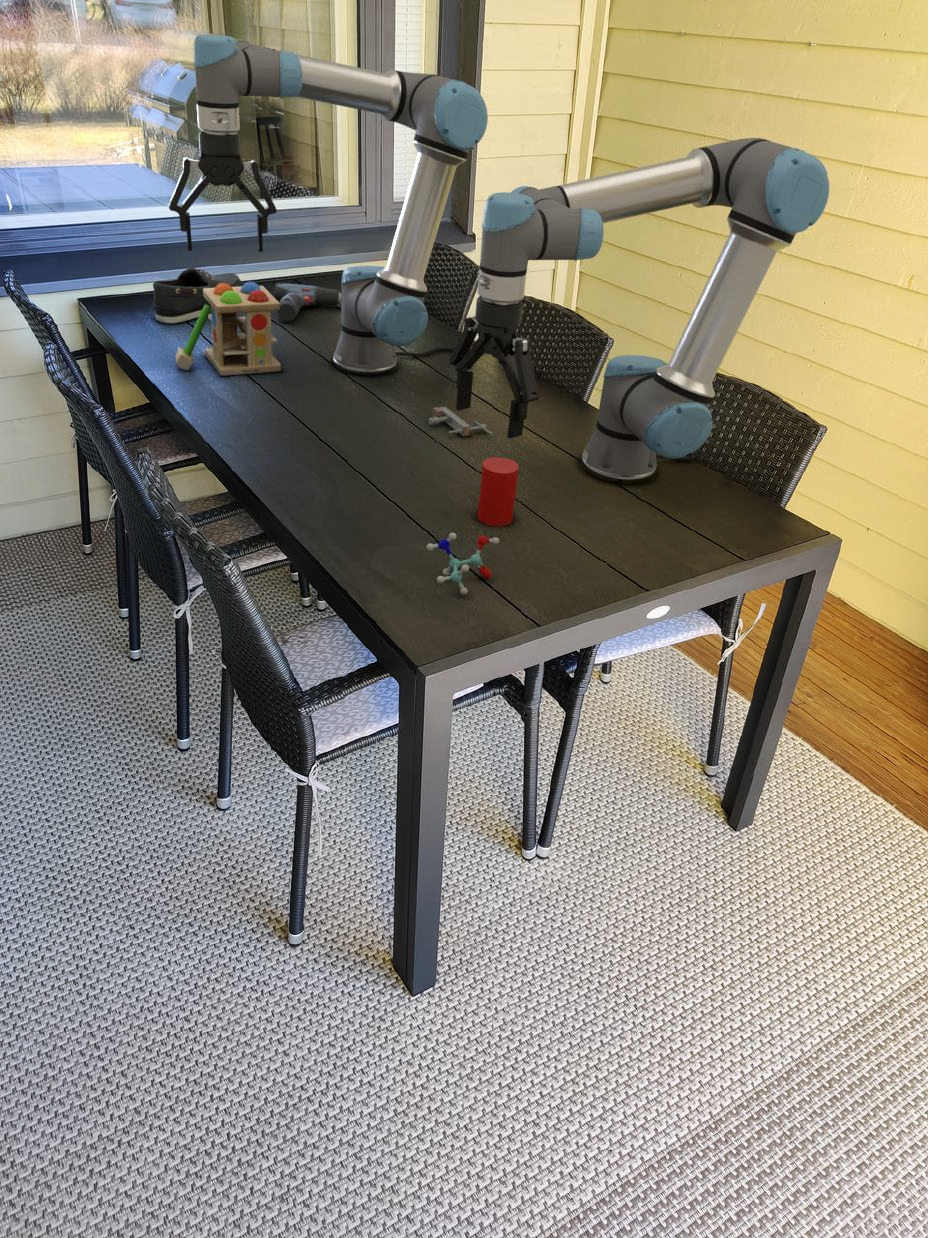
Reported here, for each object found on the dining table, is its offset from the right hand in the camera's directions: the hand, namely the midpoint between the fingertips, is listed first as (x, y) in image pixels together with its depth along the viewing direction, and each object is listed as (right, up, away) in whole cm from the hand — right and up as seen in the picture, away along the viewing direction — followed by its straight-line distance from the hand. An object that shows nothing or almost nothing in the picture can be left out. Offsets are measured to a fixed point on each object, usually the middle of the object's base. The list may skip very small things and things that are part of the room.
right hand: (488, 422), depth 169 cm
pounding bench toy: (-60, +26, +61) cm, 90 cm away
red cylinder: (+1, -15, +10) cm, 18 cm away
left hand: (-52, +39, +25) cm, 69 cm away
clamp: (-6, +7, +41) cm, 42 cm away
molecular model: (-5, -28, -9) cm, 29 cm away
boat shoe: (-75, +50, +94) cm, 130 cm away
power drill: (-47, +49, +98) cm, 119 cm away
